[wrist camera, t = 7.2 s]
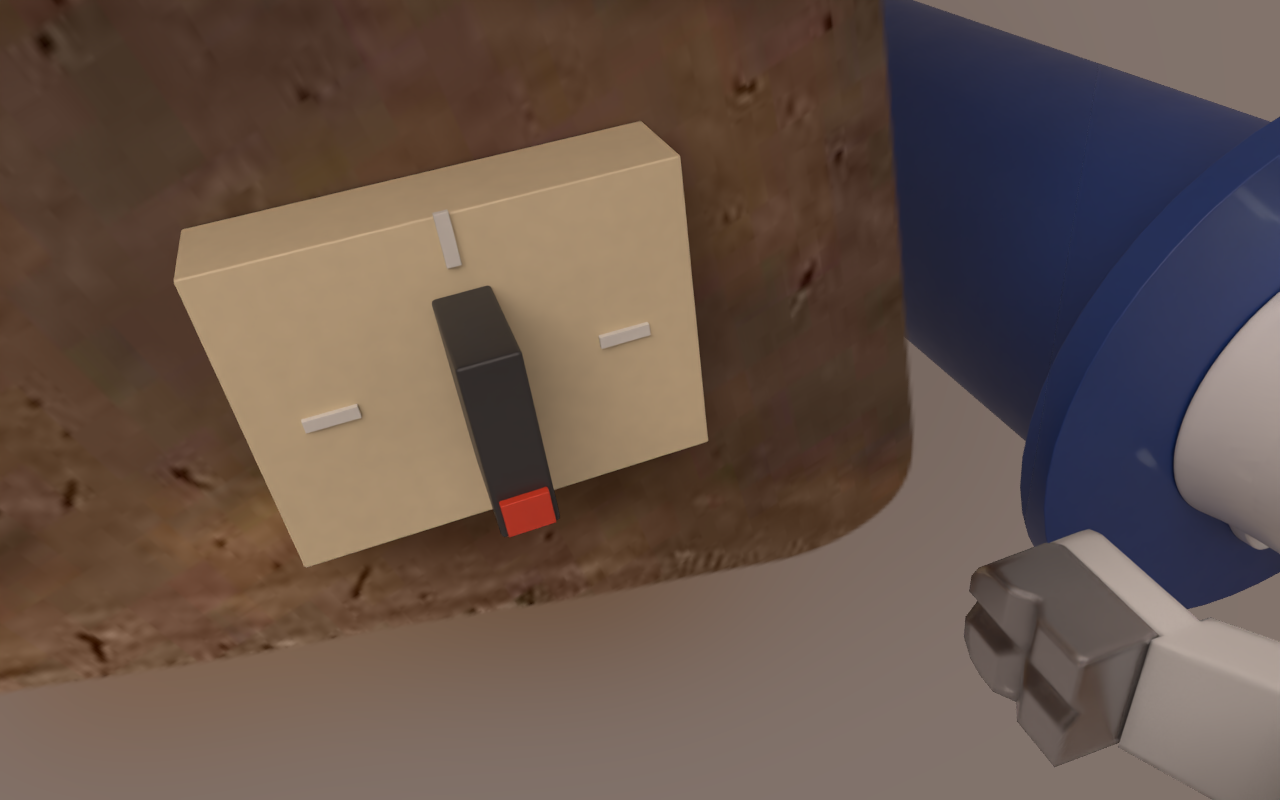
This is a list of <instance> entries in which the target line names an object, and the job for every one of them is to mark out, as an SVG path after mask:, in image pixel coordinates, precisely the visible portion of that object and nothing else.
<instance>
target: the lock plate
mask: <svg viewBox="0 0 1280 800" xmlns="http://www.w3.org/2000/svg"><path fill="white" fill-rule="evenodd" d="M174 284H175V286H176V288H177V291H178V293H179V295H180V297H181V299H182V301H183V304H184V306H185V308H186V310H187V312H188V314H189V317H190V319H191V321H192V323H193V325H194V328H195V330H196V332H197V334H198V336H199V338H200V341H201V343H202V345H203V347H204V349H205V351H206V354H207V356H208V358H209V360H210V362H211V364H212V367H213V369H214V371H215V373H216V375H217V378H218V380H219V382H220V384H221V386H222V388H223V391H224V393H225V395H226V397H227V399H228V401H229V404H230V406H231V408H232V410H233V412H234V414H235V417H236V419H237V421H238V423H239V425H240V428H241V430H242V432H243V434H244V436H245V438H246V441H247V443H248V445H249V447H250V449H251V451H252V454H253V456H254V458H255V460H256V462H257V464H258V467H259V469H260V471H261V473H262V475H263V477H264V480H265V482H266V484H267V486H268V488H269V491H270V493H271V495H272V497H273V499H274V501H275V504H276V506H277V508H278V510H279V512H280V514H281V517H282V519H283V521H284V523H285V525H286V527H287V530H288V532H289V534H290V536H291V538H292V541H293V543H294V545H295V547H296V549H297V551H298V554H299V556H300V558H301V560H302V562H303V564H304V566H305V567H310V566H313V565H316V564H320V563H323V562H326V561H329V560H332V559H335V558H339V557H342V556H345V555H348V554H351V553H355V552H358V551H361V550H364V549H367V548H371V547H374V546H377V545H380V544H383V543H386V542H390V541H393V540H396V539H399V538H402V537H406V536H409V535H412V534H415V533H418V532H421V531H425V530H428V529H431V528H434V527H437V526H441V525H444V524H447V523H450V522H453V521H457V520H460V519H463V518H466V517H469V516H472V515H476V514H479V513H482V512H485V511H488V510H492V509H493V508H492V505H491V502H490V499H489V496H488V493H487V490H486V487H485V484H484V480H483V477H482V474H481V471H480V468H479V465H478V462H477V459H476V456H475V453H474V449H473V446H472V442H471V439H470V435H469V432H468V428H467V425H466V421H465V418H464V415H463V411H462V408H461V404H460V401H459V397H458V394H457V390H456V387H455V383H454V380H453V376H452V373H451V370H450V366H449V363H448V359H447V356H446V352H445V349H444V345H443V342H442V338H441V335H440V331H439V328H438V325H437V321H436V318H435V314H434V311H433V307H432V301H433V300H435V299H438V298H442V297H446V296H450V295H453V294H457V293H461V292H465V291H468V290H472V289H476V288H479V287H483V286H490V287H491V288H492V290H493V292H494V294H495V296H496V298H497V301H498V303H499V305H500V307H501V309H502V311H503V313H504V315H505V318H506V320H507V322H508V324H509V326H510V328H511V330H512V333H513V335H514V337H515V339H516V341H517V343H518V345H519V348H520V350H521V352H522V355H523V359H524V363H525V368H526V372H527V376H528V380H529V385H530V389H531V393H532V398H533V402H534V406H535V410H536V415H537V419H538V423H539V428H540V432H541V436H542V441H543V445H544V449H545V453H546V458H547V462H548V466H549V471H550V475H551V479H552V484H553V488H554V490H555V489H558V488H562V487H565V486H568V485H571V484H574V483H578V482H581V481H584V480H587V479H590V478H594V477H597V476H600V475H603V474H606V473H609V472H613V471H616V470H619V469H622V468H625V467H629V466H632V465H635V464H638V463H641V462H644V461H648V460H651V459H654V458H657V457H660V456H664V455H667V454H670V453H673V452H676V451H680V450H683V449H686V448H689V447H692V446H695V445H699V444H702V443H705V442H707V441H708V435H707V424H706V414H705V404H704V394H703V383H702V373H701V363H700V353H699V342H698V332H697V322H696V311H695V301H694V291H693V281H692V270H691V260H690V250H689V240H688V229H687V219H686V209H685V199H684V188H683V178H682V168H681V158H680V155H679V154H677V153H676V152H675V151H674V150H673V149H672V148H671V147H670V146H668V145H667V144H666V143H665V142H664V141H663V140H662V139H661V138H659V137H658V136H657V135H656V134H655V133H654V132H653V131H652V130H650V129H649V128H648V127H647V126H646V125H645V124H644V123H643V122H641V121H638V122H634V123H630V124H626V125H622V126H617V127H613V128H609V129H605V130H600V131H596V132H592V133H588V134H584V135H579V136H575V137H571V138H567V139H562V140H558V141H554V142H550V143H546V144H541V145H537V146H533V147H529V148H525V149H520V150H516V151H512V152H508V153H503V154H499V155H495V156H491V157H487V158H482V159H478V160H474V161H470V162H465V163H461V164H457V165H453V166H449V167H444V168H440V169H436V170H432V171H428V172H423V173H419V174H415V175H411V176H406V177H402V178H398V179H394V180H390V181H385V182H381V183H377V184H373V185H368V186H364V187H360V188H356V189H352V190H347V191H343V192H339V193H335V194H331V195H326V196H322V197H318V198H314V199H309V200H305V201H301V202H297V203H293V204H288V205H284V206H280V207H276V208H271V209H267V210H263V211H259V212H255V213H250V214H246V215H242V216H238V217H234V218H229V219H225V220H221V221H217V222H212V223H208V224H204V225H200V226H196V227H191V228H187V229H183V230H181V236H180V242H179V249H178V256H177V262H176V269H175V275H174Z"/></svg>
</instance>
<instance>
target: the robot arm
mask: <svg viewBox="0 0 1280 800" xmlns="http://www.w3.org/2000/svg"><path fill="white" fill-rule="evenodd" d="M1174 477H1175V482H1176V485H1177V488H1178V490H1179V492H1180V494H1181V496H1182V497H1183V499H1184V500H1185V501H1186V502H1187V503H1188V504H1189V505H1190V506H1192V507H1193V508H1195V509H1197V510H1198V511H1201V512H1203V513H1205V514H1207V515H1210V516H1212V517H1214V518H1217V519H1219V520H1221V521H1223V522H1225V523H1227V524H1229V526H1230V528H1231V530H1232V532H1233V533H1234V535H1235V536H1236V537H1237V538H1239V539H1240V540H1242V541H1243V542H1245V543H1247V544H1248V545H1250V546H1251V547H1253V548H1255V549H1258V550H1263V549H1267V548H1269V547H1270V548H1271V549H1273V550H1274V551H1276V552H1277V553H1279V554H1280V292H1278V293H1277V294H1276V295H1275V296H1274V297H1273V298H1272V299H1270V300H1269V301H1268V302H1267V303H1266V304H1265V305H1264V306H1263V307H1262V308H1261V309H1260V310H1259V311H1258V312H1257V313H1256V314H1255V315H1254V316H1253V317H1252V318H1251V319H1250V320H1249V321H1248V322H1247V323H1246V324H1245V325H1244V326H1243V327H1242V328H1241V329H1240V330H1239V332H1238V333H1237V334H1236V335H1235V336H1234V337H1233V339H1232V340H1231V341H1230V342H1229V343H1228V345H1227V346H1226V347H1225V349H1224V350H1223V351H1222V352H1221V354H1220V355H1219V356H1218V358H1217V359H1216V361H1215V362H1214V363H1213V365H1212V366H1211V368H1210V369H1209V371H1208V372H1207V374H1206V376H1205V377H1204V379H1203V380H1202V382H1201V384H1200V385H1199V387H1198V389H1197V391H1196V393H1195V395H1194V397H1193V399H1192V401H1191V403H1190V405H1189V407H1188V409H1187V412H1186V414H1185V416H1184V419H1183V422H1182V424H1181V427H1180V430H1179V434H1178V437H1177V442H1176V446H1175V453H1174ZM969 591H970V593H971V594H972V595H973V596H974V597H975V598H976V599H977V603H976V604H975V605H974V607H973V608H972V609H971V611H970V612H969V613H968V614H967V616H966V619H965V630H964V638H965V642H966V645H967V648H968V652H969V655H970V658H971V660H972V662H973V664H974V666H975V667H976V669H977V671H978V673H979V674H980V676H981V677H982V678H983V680H984V681H985V682H986V683H987V685H988V686H989V687H990V688H991V690H992V691H993V692H995V693H997V694H1000V695H1002V696H1004V697H1006V698H1009V699H1011V700H1013V701H1015V702H1016V709H1017V722H1018V723H1019V724H1020V726H1021V727H1022V728H1023V729H1024V730H1025V732H1026V733H1027V734H1028V735H1029V736H1030V738H1031V739H1032V740H1033V741H1034V743H1035V744H1036V745H1037V746H1038V748H1039V749H1040V750H1041V751H1042V752H1043V754H1045V756H1046V757H1047V758H1048V760H1049V761H1050V762H1051V763H1052V765H1053V766H1054V767H1056V766H1059V765H1062V764H1064V763H1067V762H1069V761H1072V760H1075V759H1078V758H1080V757H1083V756H1086V755H1088V754H1091V753H1093V752H1096V751H1099V750H1101V749H1104V748H1107V747H1109V746H1111V745H1114V744H1117V743H1119V746H1118V747H1119V748H1120V749H1122V750H1124V751H1126V752H1128V753H1129V754H1131V755H1133V756H1135V757H1137V758H1138V759H1140V760H1142V761H1144V762H1145V763H1147V764H1149V765H1151V766H1153V767H1154V768H1157V769H1158V770H1160V771H1162V772H1163V773H1165V774H1167V775H1169V776H1171V777H1172V778H1174V779H1176V780H1178V781H1180V782H1182V783H1183V784H1185V785H1187V786H1189V787H1191V788H1192V789H1194V790H1196V791H1198V792H1200V793H1201V794H1203V795H1205V796H1207V797H1209V798H1210V799H1212V800H1280V642H1279V641H1276V640H1273V639H1271V638H1267V637H1265V636H1262V635H1259V634H1256V633H1254V632H1251V631H1248V630H1245V629H1242V628H1240V627H1237V626H1234V625H1231V624H1228V623H1226V622H1223V621H1220V620H1217V619H1214V618H1212V617H1210V618H1207V619H1204V620H1201V621H1200V620H1198V619H1197V618H1196V617H1195V616H1194V615H1193V614H1192V613H1190V612H1189V611H1188V610H1187V609H1186V608H1185V607H1184V606H1183V605H1181V604H1180V603H1179V602H1178V601H1177V600H1176V599H1175V598H1173V597H1172V596H1171V595H1170V594H1169V593H1168V592H1167V591H1166V590H1164V589H1163V588H1162V587H1161V586H1160V585H1159V584H1158V583H1156V582H1155V581H1154V580H1153V579H1152V578H1151V577H1150V576H1148V575H1147V574H1146V573H1145V572H1144V571H1143V570H1142V569H1141V568H1139V567H1138V566H1137V565H1136V564H1135V563H1134V562H1133V561H1131V560H1130V559H1129V558H1128V557H1127V556H1126V555H1125V554H1123V553H1122V552H1121V551H1120V550H1119V549H1118V548H1117V547H1116V546H1114V545H1113V544H1112V543H1111V542H1110V541H1109V540H1108V539H1106V538H1105V537H1104V536H1103V535H1102V534H1100V533H1098V532H1096V531H1093V530H1090V529H1087V530H1083V531H1079V532H1077V533H1074V534H1071V535H1069V536H1066V537H1063V538H1061V539H1058V540H1056V541H1053V542H1050V543H1043V544H1041V545H1038V546H1035V547H1033V548H1030V549H1028V550H1025V551H1022V552H1020V553H1017V554H1014V555H1011V556H1009V557H1006V558H1004V559H1001V560H998V561H995V562H993V563H990V564H988V565H985V566H982V567H979V568H978V569H977V571H975V573H974V574H973V575H972V577H971V583H970V590H969Z"/></svg>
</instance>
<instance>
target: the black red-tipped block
mask: <svg viewBox="0 0 1280 800" xmlns="http://www.w3.org/2000/svg"><path fill="white" fill-rule="evenodd" d="M432 307H433V311H434V314H435V318H436V321H437V325H438V328H439V331H440V335H441V338H442V342H443V345H444V349H445V352H446V356H447V359H448V363H449V366H450V370H451V373H452V376H453V380H454V383H455V387H456V390H457V394H458V397H459V401H460V404H461V408H462V411H463V415H464V418H465V421H466V425H467V428H468V432H469V435H470V439H471V442H472V446H473V449H474V453H475V456H476V459H477V462H478V465H479V468H480V471H481V474H482V477H483V480H484V484H485V487H486V490H487V493H488V496H489V499H490V502H491V505H492V508H493V511H494V514H495V517H496V520H497V523H498V526H499V529H500V532H501V534H502V535H503V536H504V537H507V536H509V537H512V536H515V535H518V534H521V533H524V532H528V531H531V530H534V529H537V528H540V527H543V526H546V525H549V524H552V523H555V522H556V520H558V519H559V517H560V514H559V509H558V505H557V501H556V496H555V492H554V488H553V484H552V479H551V475H550V471H549V466H548V462H547V458H546V453H545V449H544V445H543V441H542V436H541V432H540V428H539V423H538V419H537V415H536V410H535V406H534V402H533V398H532V393H531V389H530V385H529V380H528V376H527V372H526V368H525V363H524V359H523V355H522V352H521V350H520V348H519V345H518V343H517V341H516V339H515V337H514V335H513V333H512V330H511V328H510V326H509V324H508V322H507V320H506V318H505V315H504V313H503V311H502V309H501V307H500V305H499V303H498V301H497V298H496V296H495V294H494V292H493V290H492V288H491V287H490V286H483V287H479V288H476V289H472V290H468V291H465V292H461V293H457V294H453V295H450V296H446V297H442V298H438V299H435V300H433V301H432Z"/></svg>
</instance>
